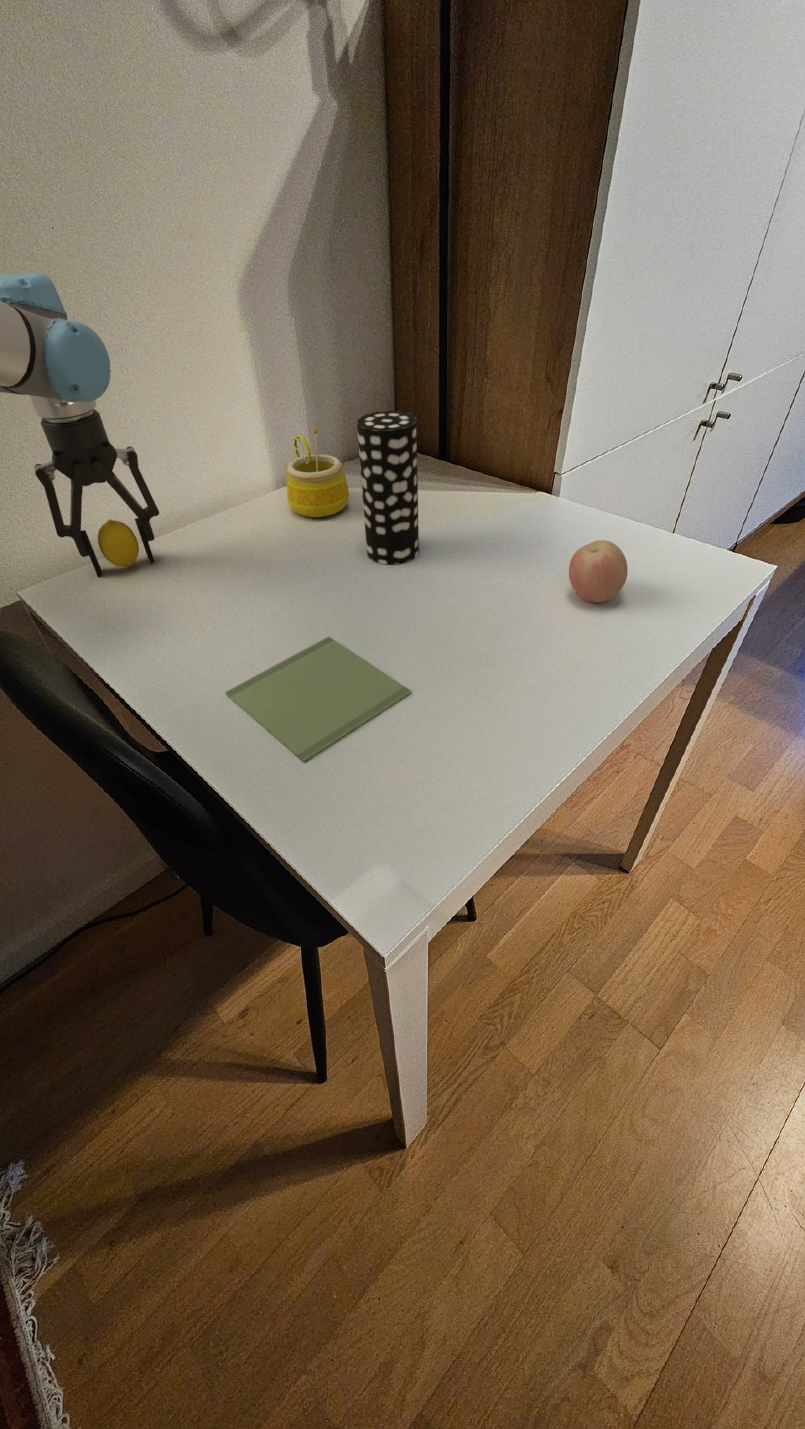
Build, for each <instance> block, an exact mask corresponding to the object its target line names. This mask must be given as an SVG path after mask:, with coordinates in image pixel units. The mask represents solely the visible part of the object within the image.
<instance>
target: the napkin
mask: <svg viewBox="0 0 805 1429" xmlns="http://www.w3.org/2000/svg"><path fill="white" fill-rule="evenodd" d="M224 694H225V696H227V697H228V698H229V699H230V700H232V701H233V702H234V704H236V705H238V707H240V708H241V709H242V710H243V711H244V712H245V713H247V715H249V717H251V718H252V719H253V720H255V721H256V722H257V723H258V724H259V725H260V726H262V727H263V728H264V729H265V730H266V731H267V732H268V733H269V734H271V735H272V736H273V737H274V738H275V739H277V741H279V742H280V743H281V744H282V745H284V746H285V747H286V748H287V749H288V750H289V751H290V752H292V753H293V754H294V755H295V756H296V757H298V758H299V759H300V760H301V761H302V762H303V763H306V762H308V761H309V760H310V759H312V758H313V757H315V756H317V755H318V754H319V753H322V752H323V751H324V750H326V749H328V748H329V747H331V746H332V745H333V744H335V743H336V742H339V740H341V739H343V738H345V737H346V736H347V735H349V734H351V733H352V732H353V731H355V730H357V729H358V728H360V727H361V726H363V725H364V724H366V723H367V722H369V721H371V720H372V719H374V718H375V717H377V716H378V715H380V714H381V713H383V712H385V711H386V710H388V709H389V708H391V707H392V706H394V705H396V704H397V703H398V702H400V701H401V700H403V699H405V698H406V697H407V696H410V695H411V694H412V690H411V689H409V688H408V687H406V686H405V685H403V684H402V683H400V682H398V681H397V680H395V679H394V678H392V677H391V676H389V675H388V674H386V673H385V672H383V671H382V670H380V669H379V668H378V667H376V666H374V665H373V664H371V663H370V662H368V661H367V660H366V659H364V658H362V657H361V656H359V655H357V654H356V653H354V652H353V651H352V650H350V649H349V648H347V647H346V646H344V645H343V644H341V643H339V642H338V641H336V639H333V638H332V637H330V636H327V637H325V638H323V639H321V640H319V641H318V642H315V643H314V644H311V645H310V646H308V647H306V648H304V649H303V650H300V651H298V652H297V653H295V654H293V655H291V656H290V657H288V658H286V659H284V660H282V661H280V662H278V663H276V664H275V665H273V666H271V667H269V668H267V669H265V670H264V671H261V672H260V673H258V674H256V675H254V676H252V677H251V678H249V679H247V680H245V681H243V682H240V683H239V684H237V685H236V686H234V687H232V688H230V689H228V690H226V691H225V692H224Z"/></svg>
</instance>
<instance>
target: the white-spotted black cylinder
mask: <svg viewBox="0 0 805 1429" xmlns="http://www.w3.org/2000/svg"><path fill="white" fill-rule="evenodd" d="M356 428H357V439H358V440H357V442H358V452H359V453H358V454H359V467H360V481H361V492H362V505H363V518H364V531H365V532H364V533H365V544H366V555H367V557H368V558H369V559H370V560H371V561H373V562H375V563H378V564H381V565H400V564H405V563H408V562H410V561H412V560H414V559H415V558H417V556H418V555H419V552H420V540H419V539H420V538H419V536H420V535H419V482H418V480H419V478H418V477H419V475H418V474H419V473H418V471H419V470H418V418H417V417H416V416H415V415H413V414H412V413H409V412H405V411H399V410H397V411H396V410H380V411H374V412H370V413H367V414H364V415H362V416H360V417H359V418H358V419H357V420H356Z"/></svg>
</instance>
